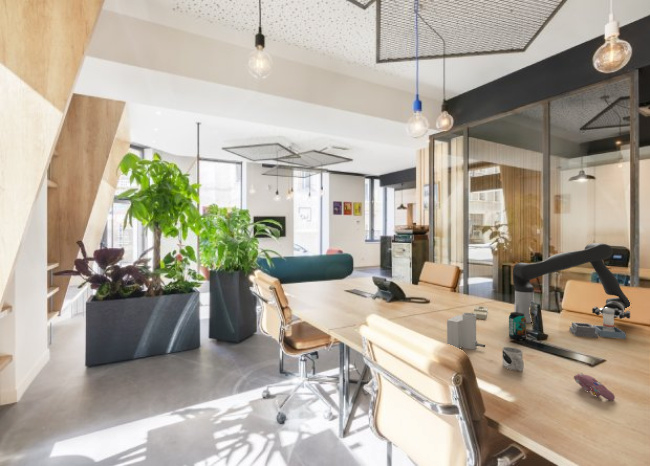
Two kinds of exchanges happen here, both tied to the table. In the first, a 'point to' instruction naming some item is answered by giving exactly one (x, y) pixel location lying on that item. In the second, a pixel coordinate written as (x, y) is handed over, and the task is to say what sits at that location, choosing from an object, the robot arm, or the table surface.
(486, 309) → the electrical outlet
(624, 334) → the tray
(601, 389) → the video game controller
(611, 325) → the cylinder
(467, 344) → the grey stepped block
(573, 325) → the block
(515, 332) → the beverage can
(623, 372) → the table surface
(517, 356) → the mug
